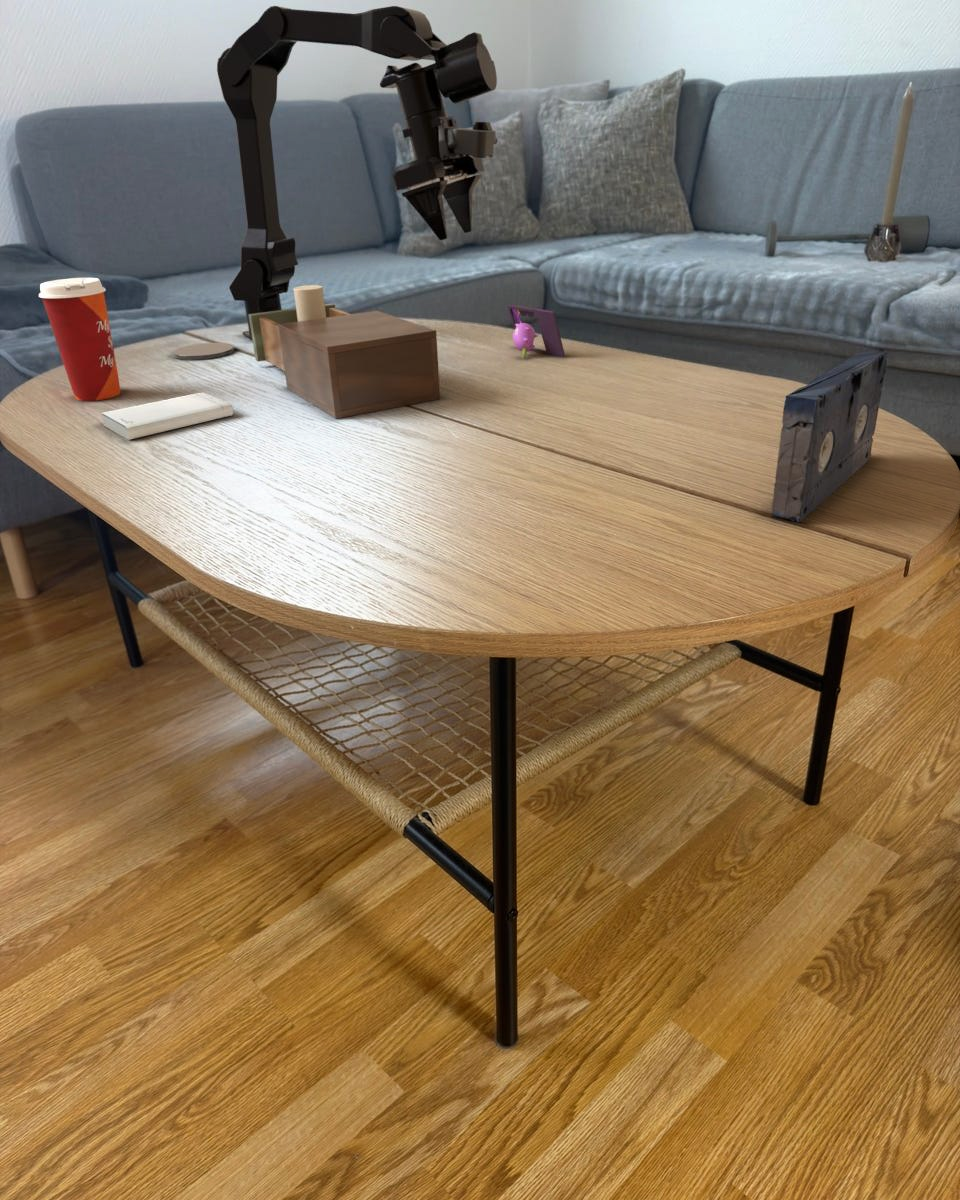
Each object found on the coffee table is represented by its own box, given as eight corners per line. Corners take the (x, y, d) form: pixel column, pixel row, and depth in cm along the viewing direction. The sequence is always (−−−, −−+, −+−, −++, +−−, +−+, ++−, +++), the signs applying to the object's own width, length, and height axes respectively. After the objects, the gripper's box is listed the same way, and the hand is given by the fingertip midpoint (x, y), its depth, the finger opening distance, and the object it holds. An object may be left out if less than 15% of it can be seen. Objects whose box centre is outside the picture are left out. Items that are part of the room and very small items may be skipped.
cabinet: (287, 388, 112) (277, 324, 108) (382, 372, 118) (377, 310, 114) (335, 418, 99) (327, 347, 95) (440, 398, 105) (436, 330, 101)
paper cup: (135, 396, 111) (108, 281, 105) (71, 406, 108) (40, 288, 101) (122, 384, 117) (96, 274, 111) (61, 393, 114) (31, 281, 107)
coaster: (167, 352, 134) (166, 348, 134) (225, 343, 138) (224, 340, 138) (181, 362, 127) (180, 358, 127) (241, 354, 131) (241, 349, 131)
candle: (298, 355, 120) (289, 287, 115) (324, 351, 121) (316, 284, 117) (308, 360, 117) (299, 290, 112) (334, 356, 118) (326, 287, 114)
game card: (557, 308, 118) (512, 301, 124) (532, 327, 116) (487, 319, 122) (568, 353, 122) (524, 344, 128) (544, 372, 120) (500, 362, 126)
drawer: (246, 355, 126) (239, 310, 123) (326, 343, 132) (321, 299, 129) (292, 382, 111) (285, 331, 108) (380, 367, 117) (376, 319, 114)
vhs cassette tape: (843, 454, 83) (861, 348, 78) (875, 459, 81) (896, 351, 76) (763, 516, 71) (778, 394, 66) (798, 524, 69) (817, 400, 64)
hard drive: (126, 426, 94) (231, 402, 101) (99, 412, 100) (201, 389, 106) (130, 441, 95) (234, 416, 102) (103, 426, 100) (203, 403, 107)
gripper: (451, 94, 107) (484, 228, 113) (502, 97, 122) (528, 214, 128) (375, 122, 111) (410, 249, 117) (433, 121, 127) (461, 233, 133)
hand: (456, 235), depth 124 cm, fingers open, 9 cm apart
